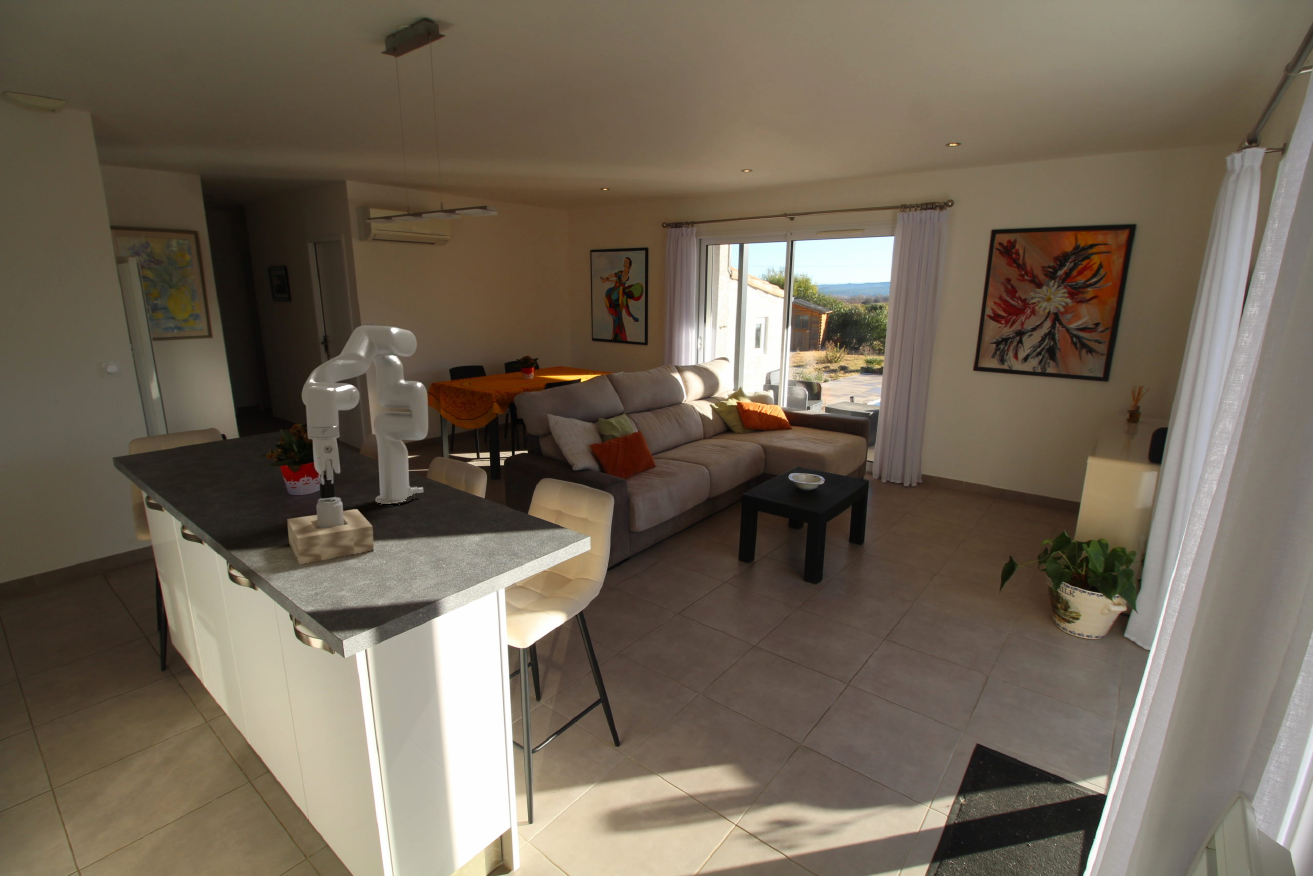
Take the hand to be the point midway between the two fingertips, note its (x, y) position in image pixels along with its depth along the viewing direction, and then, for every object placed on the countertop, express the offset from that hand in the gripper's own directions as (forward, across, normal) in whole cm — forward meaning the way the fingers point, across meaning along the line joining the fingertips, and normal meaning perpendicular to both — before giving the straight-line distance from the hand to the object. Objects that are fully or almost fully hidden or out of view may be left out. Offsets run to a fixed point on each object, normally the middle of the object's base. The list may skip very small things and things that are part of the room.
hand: (327, 497), depth 167 cm
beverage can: (+13, 0, 0) cm, 13 cm away
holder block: (+15, 0, 0) cm, 15 cm away
